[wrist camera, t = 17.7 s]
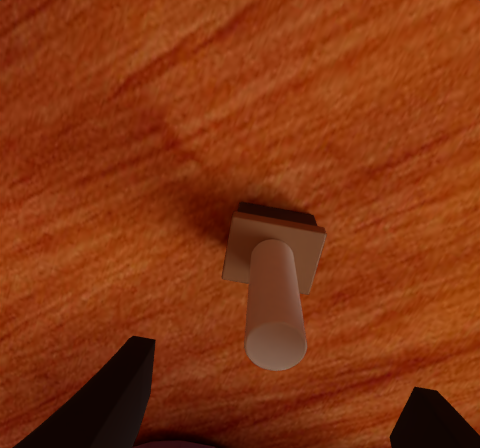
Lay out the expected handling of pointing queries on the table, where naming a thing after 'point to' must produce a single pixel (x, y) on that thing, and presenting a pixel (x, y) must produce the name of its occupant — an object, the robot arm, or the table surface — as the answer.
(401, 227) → the table surface
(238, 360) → the table surface
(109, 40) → the table surface
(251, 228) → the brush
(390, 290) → the table surface
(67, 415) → the robot arm
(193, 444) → the bowl
